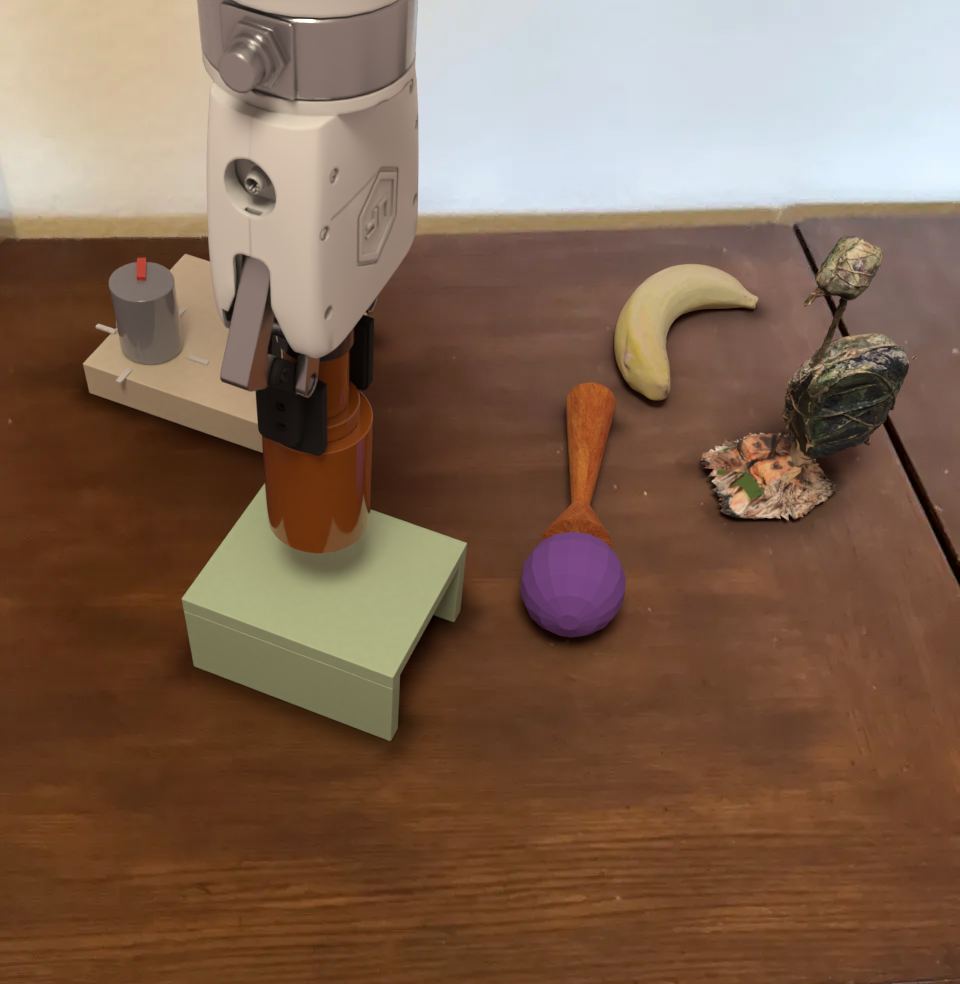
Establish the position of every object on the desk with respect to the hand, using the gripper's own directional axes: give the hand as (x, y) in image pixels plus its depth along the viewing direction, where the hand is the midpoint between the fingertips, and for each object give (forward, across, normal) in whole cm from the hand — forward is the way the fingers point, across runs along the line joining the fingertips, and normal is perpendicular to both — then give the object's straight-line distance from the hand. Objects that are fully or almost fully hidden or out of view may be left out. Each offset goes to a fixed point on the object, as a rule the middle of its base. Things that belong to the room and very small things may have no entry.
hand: (316, 406), depth 58 cm
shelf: (+17, 0, -1) cm, 17 cm away
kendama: (+17, +14, -11) cm, 25 cm away
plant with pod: (+17, +24, -22) cm, 37 cm away
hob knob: (+15, +15, +19) cm, 29 cm away
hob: (+18, +18, +15) cm, 29 cm away
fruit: (+17, +34, -12) cm, 40 cm away
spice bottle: (+7, 0, 0) cm, 7 cm away
